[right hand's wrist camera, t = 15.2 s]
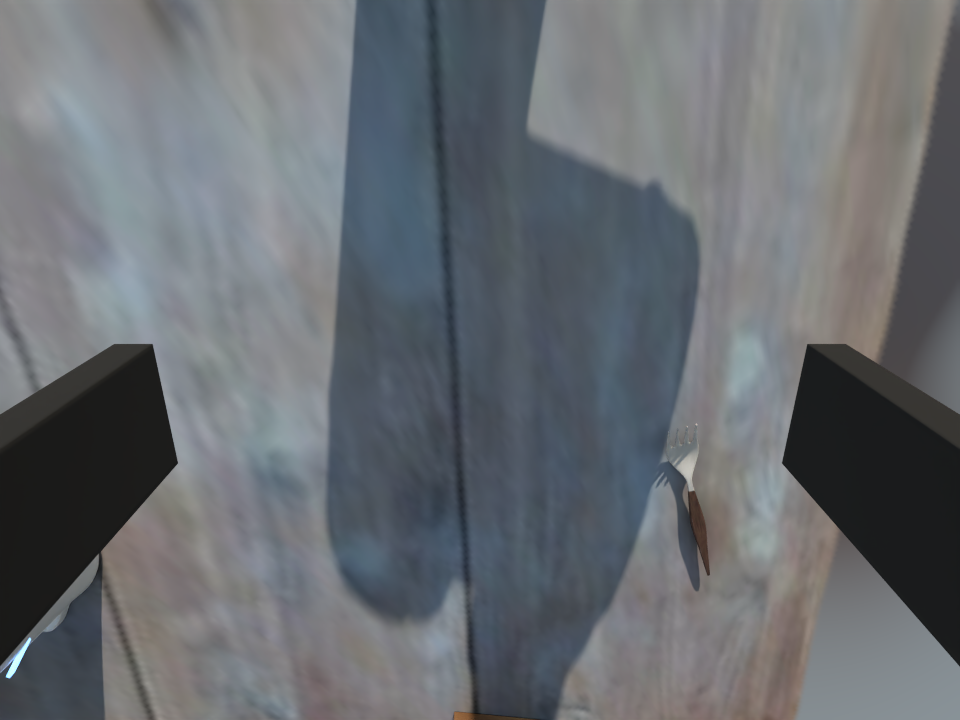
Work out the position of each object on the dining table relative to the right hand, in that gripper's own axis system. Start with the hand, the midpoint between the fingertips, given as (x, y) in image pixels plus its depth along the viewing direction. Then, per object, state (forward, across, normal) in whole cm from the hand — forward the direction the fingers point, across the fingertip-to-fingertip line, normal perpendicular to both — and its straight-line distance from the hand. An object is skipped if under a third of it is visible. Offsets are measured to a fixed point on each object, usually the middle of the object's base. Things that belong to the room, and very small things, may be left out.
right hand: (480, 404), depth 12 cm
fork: (+32, +18, -24) cm, 43 cm away
